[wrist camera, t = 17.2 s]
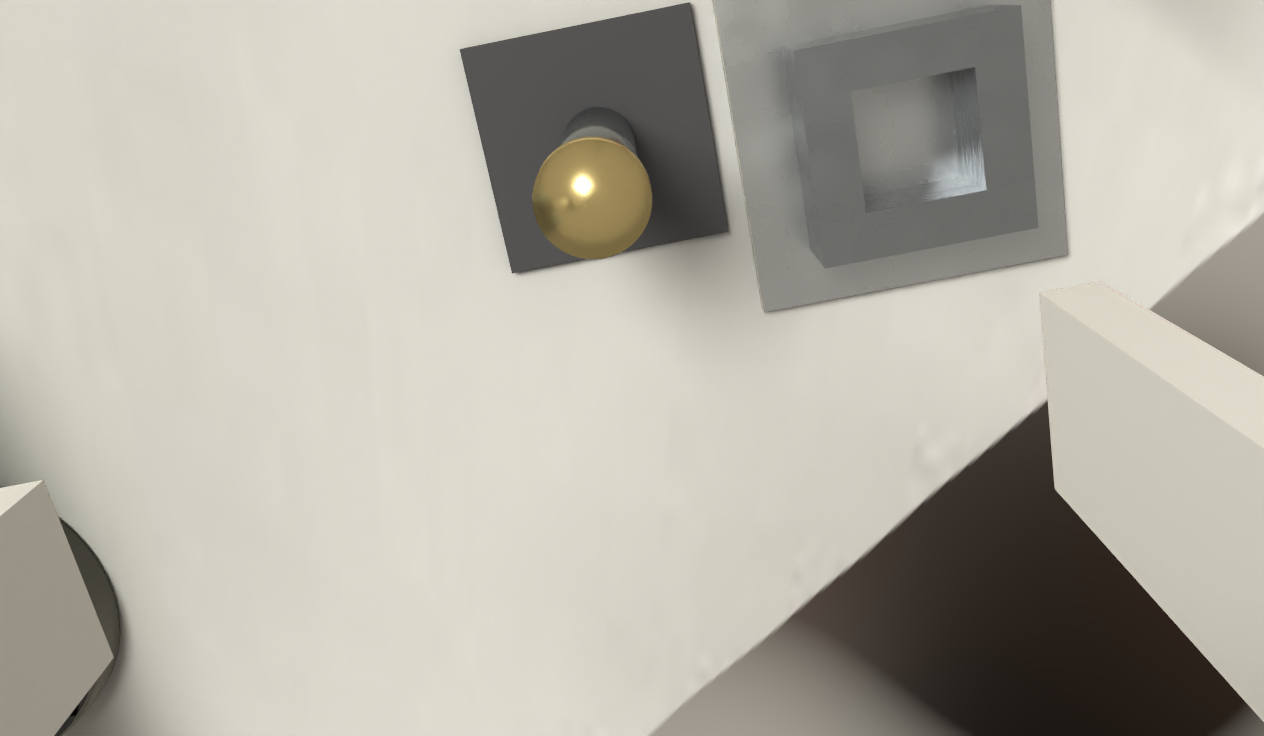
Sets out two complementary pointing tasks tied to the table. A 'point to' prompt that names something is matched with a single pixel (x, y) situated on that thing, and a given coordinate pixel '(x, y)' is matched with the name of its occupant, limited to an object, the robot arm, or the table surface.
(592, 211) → the gold capped cylinder
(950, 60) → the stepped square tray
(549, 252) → the mat
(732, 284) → the table surface
